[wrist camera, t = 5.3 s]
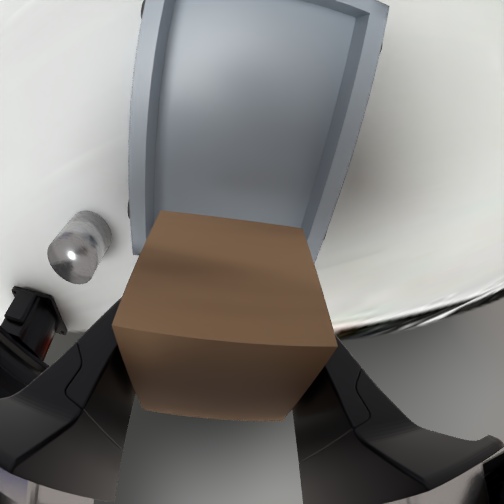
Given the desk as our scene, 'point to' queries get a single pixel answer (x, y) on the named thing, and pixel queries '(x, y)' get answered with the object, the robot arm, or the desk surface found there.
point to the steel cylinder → (80, 247)
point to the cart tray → (249, 109)
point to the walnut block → (223, 319)
